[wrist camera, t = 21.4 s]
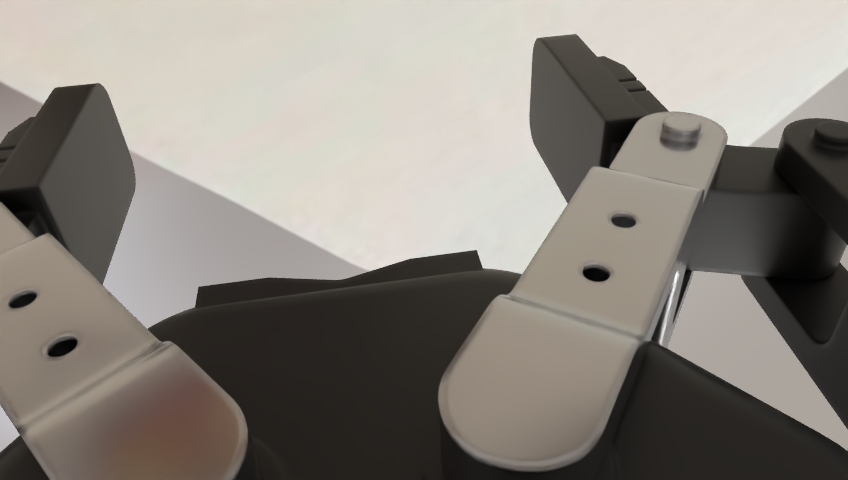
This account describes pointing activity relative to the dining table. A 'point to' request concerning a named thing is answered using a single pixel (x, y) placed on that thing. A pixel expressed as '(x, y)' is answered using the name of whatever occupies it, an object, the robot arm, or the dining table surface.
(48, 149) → the robot arm
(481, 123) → the dining table surface
